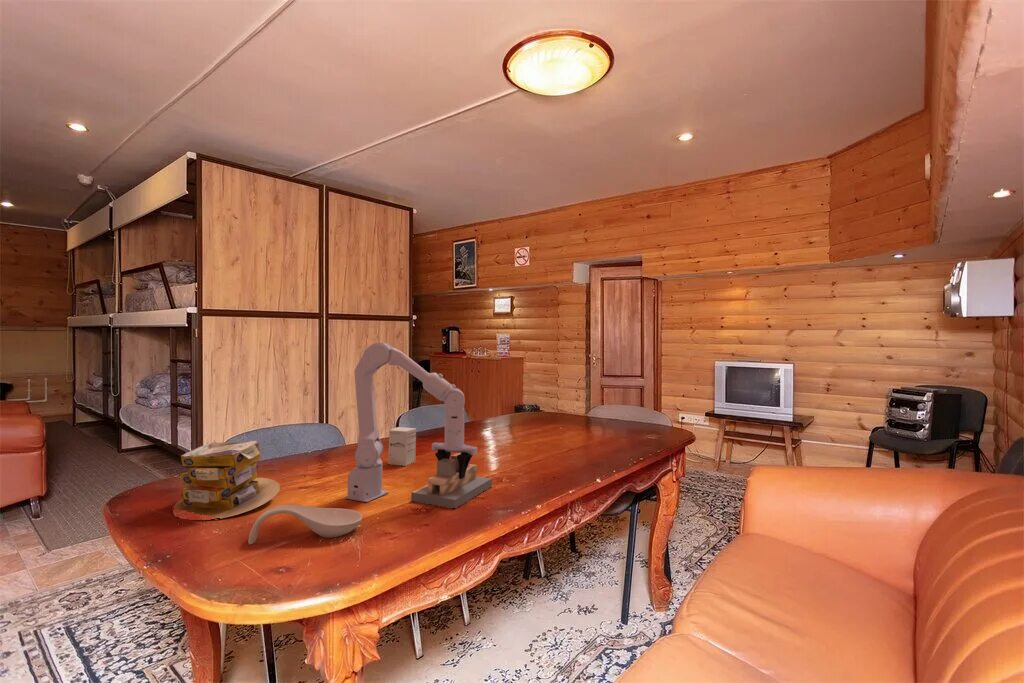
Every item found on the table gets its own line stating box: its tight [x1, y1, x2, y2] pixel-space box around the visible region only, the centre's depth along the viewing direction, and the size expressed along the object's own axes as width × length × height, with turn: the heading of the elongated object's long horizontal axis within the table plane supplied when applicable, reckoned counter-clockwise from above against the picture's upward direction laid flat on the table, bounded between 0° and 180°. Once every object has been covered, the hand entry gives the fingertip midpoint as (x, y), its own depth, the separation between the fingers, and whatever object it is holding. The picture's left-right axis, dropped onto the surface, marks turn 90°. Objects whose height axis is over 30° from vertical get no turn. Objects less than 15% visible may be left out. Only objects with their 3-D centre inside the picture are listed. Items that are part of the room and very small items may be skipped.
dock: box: [410, 476, 493, 509], centre depth 139 cm, size 22×14×3 cm, turn 156°
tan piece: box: [427, 463, 478, 496], centre depth 139 cm, size 19×5×4 cm, turn 156°
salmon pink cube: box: [450, 452, 470, 470], centre depth 143 cm, size 4×4×4 cm
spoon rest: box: [247, 504, 363, 545], centre depth 109 cm, size 24×12×7 cm, turn 111°
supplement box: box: [388, 426, 417, 467], centre depth 174 cm, size 7×7×13 cm
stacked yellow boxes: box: [172, 440, 281, 519], centre depth 128 cm, size 25×25×17 cm
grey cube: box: [436, 458, 456, 477], centre depth 136 cm, size 4×4×4 cm
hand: (453, 476), depth 139 cm, fingers closed on tan piece, 5 cm apart
